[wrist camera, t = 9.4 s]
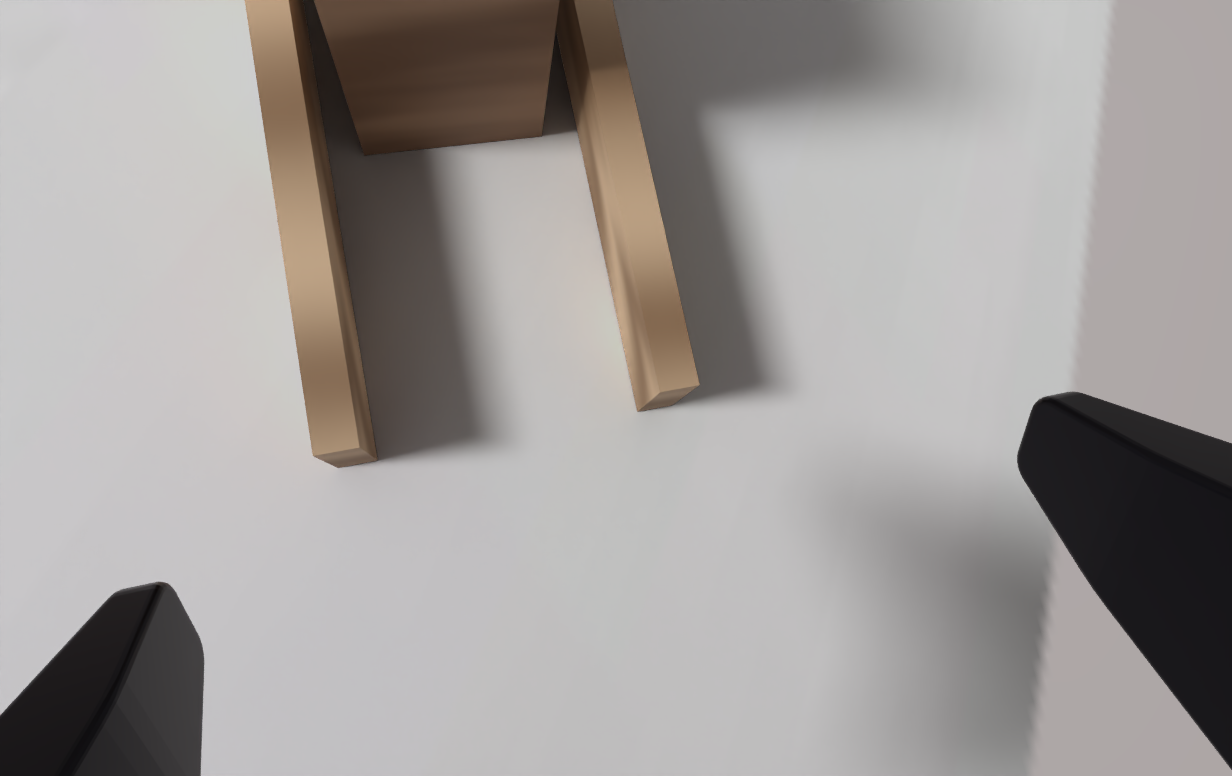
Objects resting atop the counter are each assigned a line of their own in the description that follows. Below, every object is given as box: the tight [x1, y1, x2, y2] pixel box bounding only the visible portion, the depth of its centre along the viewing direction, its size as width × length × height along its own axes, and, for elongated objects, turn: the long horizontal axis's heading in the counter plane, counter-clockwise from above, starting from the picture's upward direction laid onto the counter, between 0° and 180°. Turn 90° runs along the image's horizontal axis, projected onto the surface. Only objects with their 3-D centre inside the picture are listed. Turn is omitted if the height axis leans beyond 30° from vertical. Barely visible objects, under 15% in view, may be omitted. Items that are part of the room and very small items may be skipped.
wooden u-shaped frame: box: [245, 0, 700, 468], centre depth 21 cm, size 20×9×4 cm, turn 12°
